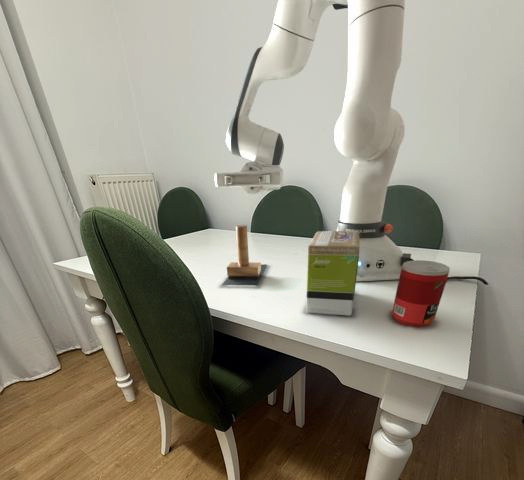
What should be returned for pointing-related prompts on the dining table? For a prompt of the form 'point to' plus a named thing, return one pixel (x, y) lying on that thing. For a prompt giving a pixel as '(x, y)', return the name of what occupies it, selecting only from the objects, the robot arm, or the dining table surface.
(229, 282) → the mat
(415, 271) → the canned food
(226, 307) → the dining table surface
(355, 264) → the tea box
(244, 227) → the brush
